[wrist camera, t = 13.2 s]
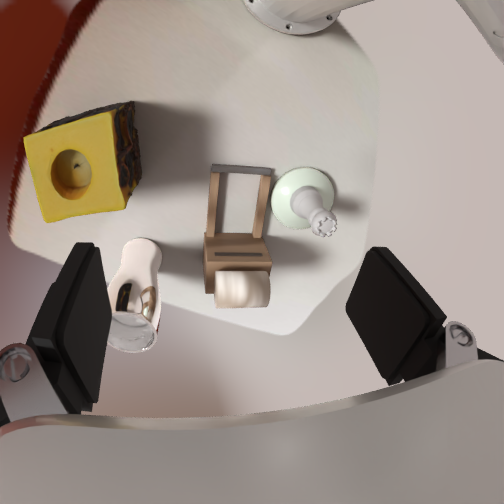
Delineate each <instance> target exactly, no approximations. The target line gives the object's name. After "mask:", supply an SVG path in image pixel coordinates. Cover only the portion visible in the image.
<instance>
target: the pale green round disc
mask: <svg viewBox="0 0 504 504" xmlns="http://www.w3.org/2000/svg"><path fill="white" fill-rule="evenodd" d="M302 186H311V187H314V188H315V189H317V190H318V191H319V193H320V194H321V197H322V199H323V208H326V209H327V210H328V211H330V210H331V207H332V205H333V201H334V190H333V186H332V184H331V182H330V180H329V179H328V178H327V177H326V176H325V175H324V174H323V173H322V172H320V171H319V170H317V169H314V168H310V167H299V168H295V169H292V170H290V171H288V172H286V173H285V174H284V175H282V176H281V177H280V178H279V179H278V181H277V182H276V183H275V185H274V187H273V189H272V193H271V199H270V201H271V208H272V211H273V213H274V214H275V216H276V218H277V219H278V220H279V221H280V223H282V224H283V225H285V226H286V227H289V228H292V229H306V228H310V227H311V225H310V224H309V220H308V219H304V218H300V217H298V216H297V215H296V214H295V213H294V212H293V211H292V209H291V207H290V198H291V196H292V194H293V193H294V192H295V191H296V190H297V189H298V188H300V187H302Z"/></svg>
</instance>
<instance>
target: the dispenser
mask: <svg viewBox="0 0 504 504" xmlns="http://www.w3.org/2000/svg"><path fill="white" fill-rule="evenodd" d="M220 172H227V173H243V174H257V175H261V180H260V186H259V193H258V199H257V205H256V212H255V218H254V225H253V231H252V234H247V233H214V231H215V219H216V208H217V197H218V187H219V176H220ZM270 174H271V169H270V168H264V167H251V166H237V165H221V164H212V166H211V177H210V188H209V201H208V214H207V228H206V233H205V232H204V248H203V271H204V282H205V293H206V294H214V300H215V307H216V308H255V307H267V306H268V304H269V300H270V279H269V276H270V271H271V266H272V260H271V257H270V255H269V253H268V250H267V248H266V245H265V243H264V241H263V238H262V236H261V234H262V228H263V222H264V216H265V210H266V204H267V198H268V193H269V187H270V181H271V176H270Z"/></svg>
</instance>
